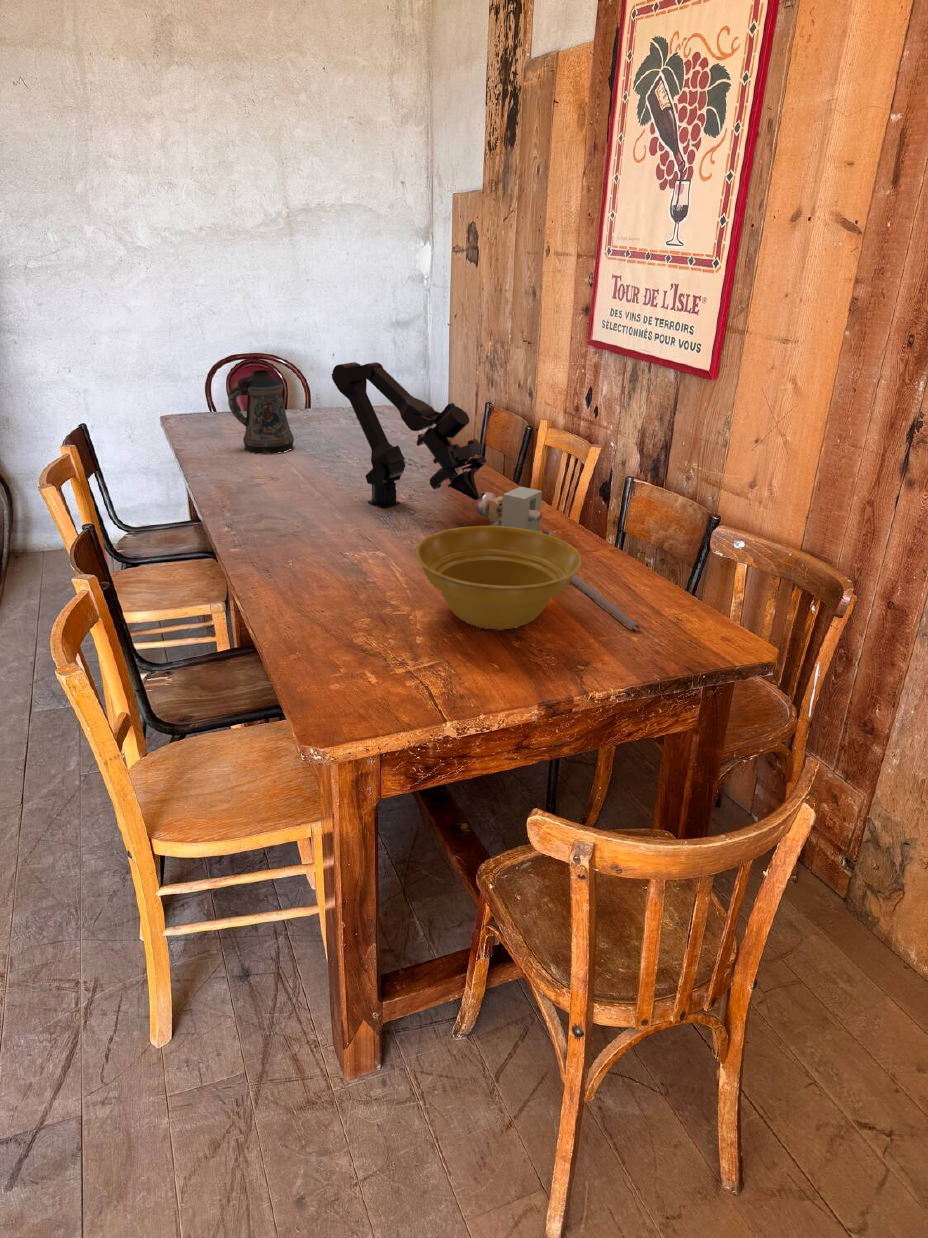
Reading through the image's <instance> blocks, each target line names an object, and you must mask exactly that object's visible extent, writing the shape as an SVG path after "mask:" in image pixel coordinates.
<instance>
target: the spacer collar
mask: <svg viewBox="0 0 928 1238" xmlns="http://www.w3.org/2000/svg"><path fill="white" fill-rule="evenodd" d="M501 503H503V495H499V496H497V497H496V498H494V499H492V500H490V502H489V517H488V521H489V522H493V523H495V522H497V521H499V520H501V519H502V513H501V512H498V505H499V504H501Z"/></svg>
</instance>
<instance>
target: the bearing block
mask: <svg viewBox="0 0 928 1238" xmlns="http://www.w3.org/2000/svg"><path fill="white" fill-rule="evenodd" d="M502 496H503V504H502V519H501V520H499V521H497V522H493V523H491V524H489V525H488V526H503V527H514V528H521V529H527V530H532V531H536V532H540V533H544V534H547V535H550V536H553V537H554V534H553V533H551V532H550V530H549V529H543V530H540V522H541V520H540V521H535V520H531V519H529V509H531V510H536V511H540V512H541V509H542V497H543V492H542V490H538V489H535V488H530V487H526V486H525V487H524V486H519V487H516V488H514V489H512V490H509V491H507V492H505V493H502Z"/></svg>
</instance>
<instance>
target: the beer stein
mask: <svg viewBox="0 0 928 1238" xmlns="http://www.w3.org/2000/svg"><path fill="white" fill-rule="evenodd" d="M283 390H284V385H283V383H282V382H280V381H279V379H277V378H275V377H274V376H273V375H271V373H270V370H263V369H262V370H254V371H252V374H251V375H249V376H246V377H241V378H239V379H238V381H237V386H235V387H233V388H231V389H230V391H229V393H228V394H229V395H228V398H227V399H228V401H227V402H228V407H229V410H230V411H231V413H232V415H233V416H234V417H235V418H236V420H238V422H239V423H240V424H242V425H243V426H244V427H245V431H244V435H243V438H242V442H243V444H244V449H245V451H247V450H248V451H250V452H249V453H252V452H255V453H254V454H257V453H278V452H284V451H287V450H289V449H292V448H294V441H295V437H294V434H293V433H292V431H291V428H290V425H289V421H288V418H287V414H286V409H285V403H284V399H283ZM239 396H247V400H246V401H247V402H246V416H245V415H244V414H243V413H242V412H241V411H240V409H239V407H238V406H237V403H236V401H237V398H238V397H239ZM292 450H293V449H292ZM248 451H247V452H248ZM278 454H279V453H278Z"/></svg>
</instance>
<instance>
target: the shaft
mask: <svg viewBox="0 0 928 1238" xmlns="http://www.w3.org/2000/svg"><path fill="white" fill-rule="evenodd" d="M494 498H496V494H495V493H493V492H488V491H483V492H482V493H481V494H480V496H479V499H477V504H476V505H477V506H476V509H477V513H478V514H479V516H482V517H487V518H489V502H490V500H492V499H494ZM502 504H503V503H501V504H499V505H498V512H501V513H502ZM542 516H543V515H542V511H541V510H540V511H536V510H531V509H529V519H531V520H535V521H540V522H541V519H542Z"/></svg>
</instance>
